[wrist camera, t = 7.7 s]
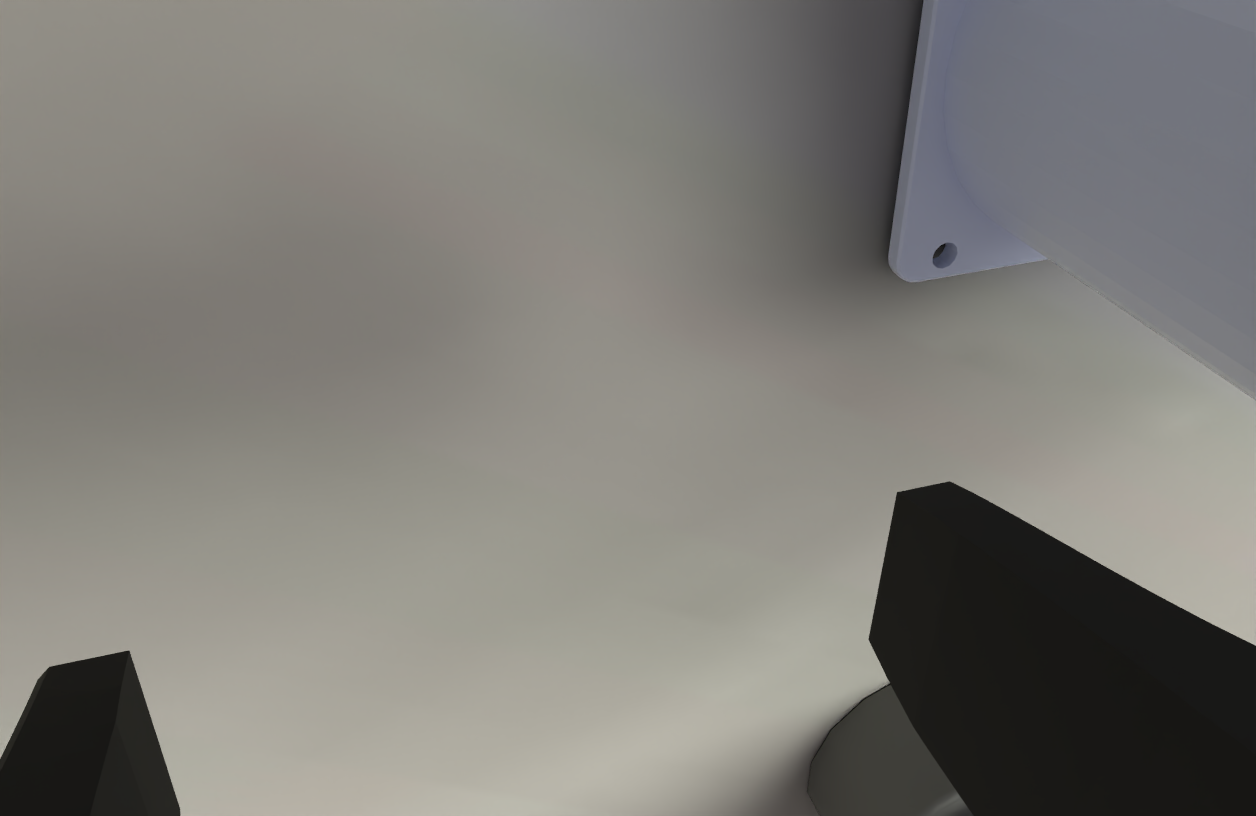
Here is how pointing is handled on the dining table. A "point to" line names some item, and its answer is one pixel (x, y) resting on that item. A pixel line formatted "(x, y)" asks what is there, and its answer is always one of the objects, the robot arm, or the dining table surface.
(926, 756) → the candle holder
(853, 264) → the dining table surface
